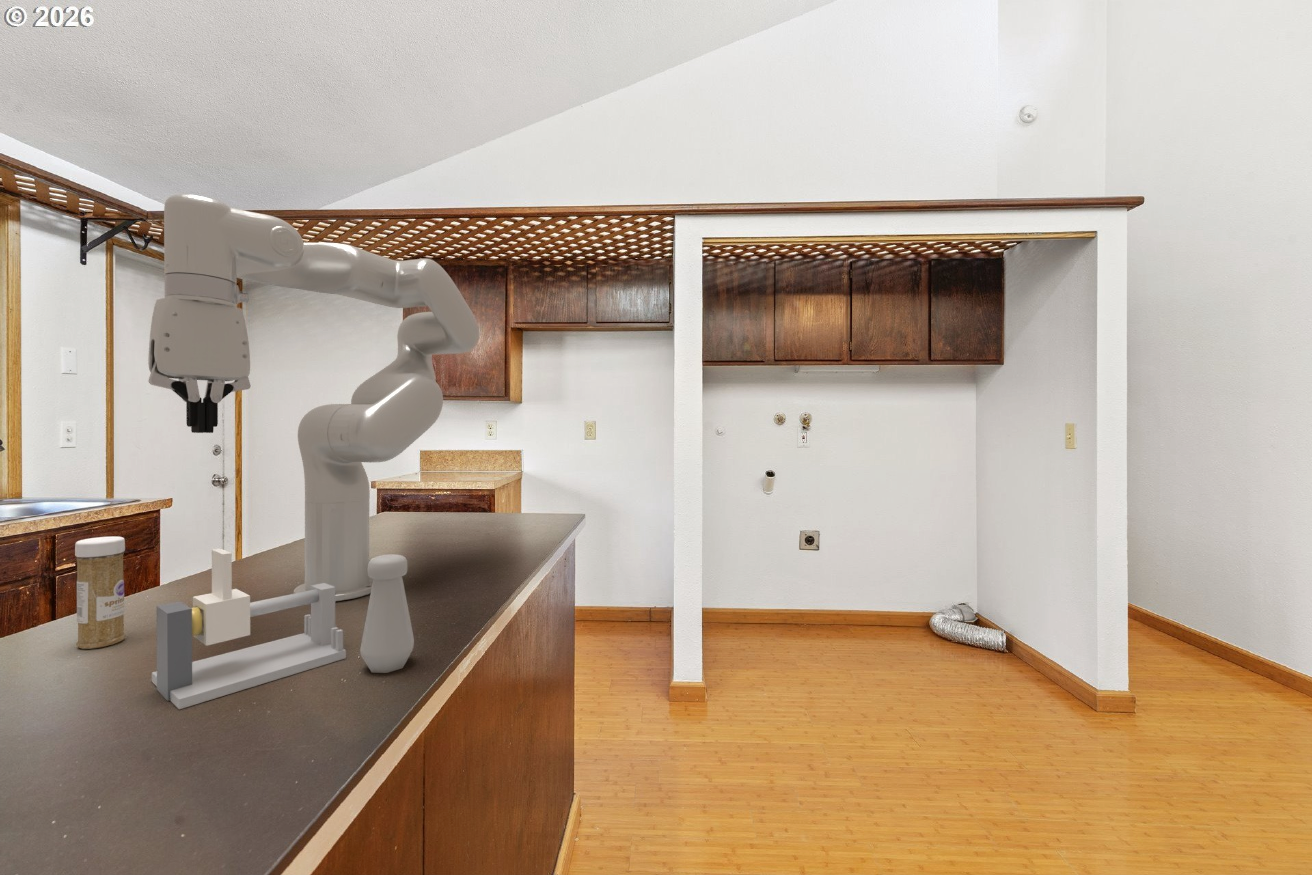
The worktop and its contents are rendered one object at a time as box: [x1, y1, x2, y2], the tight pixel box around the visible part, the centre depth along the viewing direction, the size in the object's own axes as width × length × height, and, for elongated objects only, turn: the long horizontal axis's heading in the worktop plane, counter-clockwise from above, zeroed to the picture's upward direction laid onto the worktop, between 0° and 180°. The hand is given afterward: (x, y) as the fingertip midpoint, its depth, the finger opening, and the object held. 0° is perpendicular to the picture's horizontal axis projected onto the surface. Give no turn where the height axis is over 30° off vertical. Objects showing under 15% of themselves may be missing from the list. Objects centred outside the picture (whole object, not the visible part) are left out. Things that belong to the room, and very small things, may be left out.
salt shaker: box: [359, 553, 415, 674], centre depth 67 cm, size 6×6×13 cm
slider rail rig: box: [151, 583, 347, 710], centre depth 66 cm, size 16×10×9 cm, turn 143°
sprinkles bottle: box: [74, 536, 126, 650], centre depth 73 cm, size 5×5×13 cm
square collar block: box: [192, 548, 251, 646], centre depth 63 cm, size 4×4×9 cm
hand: (202, 432), depth 76 cm, fingers closed
